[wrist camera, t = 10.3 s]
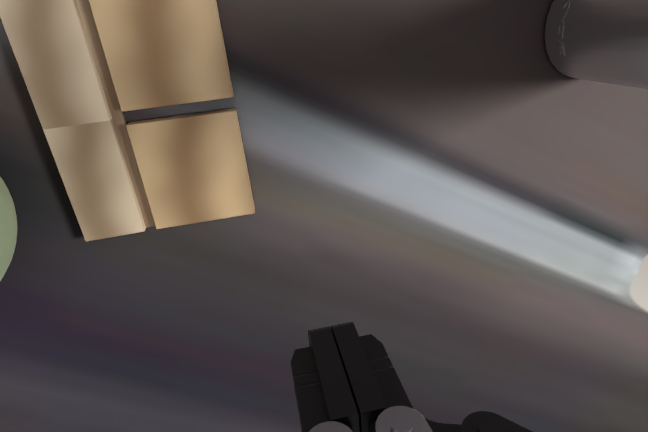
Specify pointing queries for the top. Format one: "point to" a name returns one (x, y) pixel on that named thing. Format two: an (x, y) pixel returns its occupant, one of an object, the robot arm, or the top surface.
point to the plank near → (163, 51)
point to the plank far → (192, 167)
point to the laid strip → (79, 113)
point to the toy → (6, 228)
